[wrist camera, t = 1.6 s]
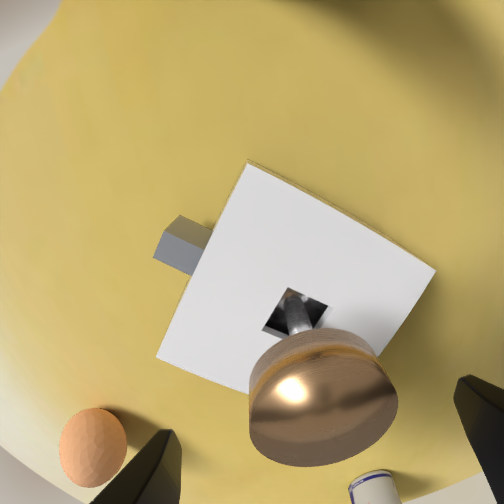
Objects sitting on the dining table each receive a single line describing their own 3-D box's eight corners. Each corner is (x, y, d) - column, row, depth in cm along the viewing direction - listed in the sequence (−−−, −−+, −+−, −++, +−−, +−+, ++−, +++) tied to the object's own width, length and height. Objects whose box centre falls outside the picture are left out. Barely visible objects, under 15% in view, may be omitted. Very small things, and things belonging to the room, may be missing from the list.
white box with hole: (385, 234, 20) (436, 270, 14) (308, 354, 23) (326, 418, 16) (216, 144, 18) (200, 141, 12) (152, 286, 21) (118, 339, 14)
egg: (134, 442, 26) (113, 509, 18) (80, 422, 25) (50, 484, 17) (137, 406, 24) (111, 481, 16) (77, 384, 24) (39, 450, 16)
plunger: (360, 276, 16) (441, 382, 8) (308, 354, 17) (342, 480, 9) (270, 231, 15) (296, 326, 7) (222, 319, 17) (206, 451, 8)
